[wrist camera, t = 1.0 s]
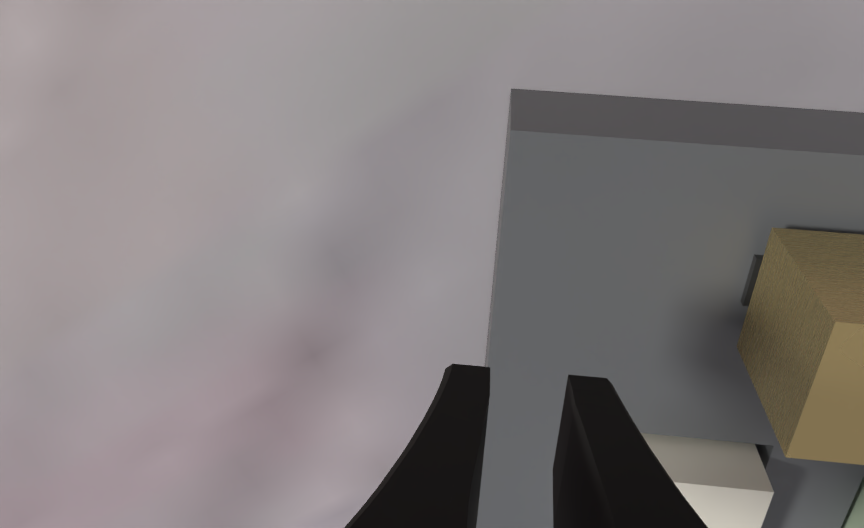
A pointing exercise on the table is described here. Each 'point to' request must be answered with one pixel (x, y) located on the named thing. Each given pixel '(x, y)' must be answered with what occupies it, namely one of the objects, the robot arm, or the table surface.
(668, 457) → the ivory button
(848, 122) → the control panel
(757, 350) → the brass slider
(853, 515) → the sage button
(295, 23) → the table surface
